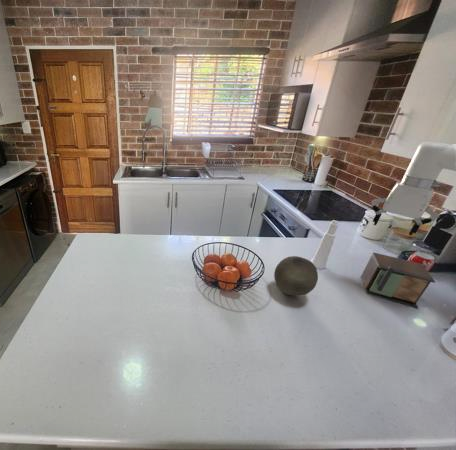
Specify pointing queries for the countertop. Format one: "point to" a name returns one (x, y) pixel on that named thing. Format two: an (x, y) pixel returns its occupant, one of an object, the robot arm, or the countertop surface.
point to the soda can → (422, 259)
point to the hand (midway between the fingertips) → (392, 228)
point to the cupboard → (411, 283)
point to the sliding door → (386, 282)
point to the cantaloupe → (296, 276)
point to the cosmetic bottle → (325, 246)
